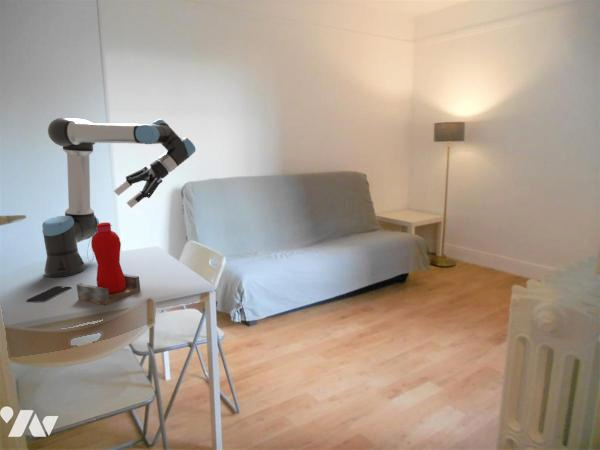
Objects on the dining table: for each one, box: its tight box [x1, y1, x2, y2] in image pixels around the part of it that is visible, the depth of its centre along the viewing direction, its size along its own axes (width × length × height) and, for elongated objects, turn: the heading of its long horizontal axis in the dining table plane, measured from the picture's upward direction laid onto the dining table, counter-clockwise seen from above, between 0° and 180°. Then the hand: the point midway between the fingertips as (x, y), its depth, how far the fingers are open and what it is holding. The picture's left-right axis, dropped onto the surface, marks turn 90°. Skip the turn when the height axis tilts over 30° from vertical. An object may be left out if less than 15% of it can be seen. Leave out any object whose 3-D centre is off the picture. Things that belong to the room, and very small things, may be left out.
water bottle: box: [86, 221, 126, 294], centre depth 145 cm, size 9×11×25 cm
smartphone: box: [25, 285, 73, 303], centre depth 151 cm, size 8×1×15 cm
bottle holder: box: [76, 273, 141, 306], centre depth 148 cm, size 14×15×6 cm
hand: (122, 199), depth 165 cm, fingers open, 13 cm apart
